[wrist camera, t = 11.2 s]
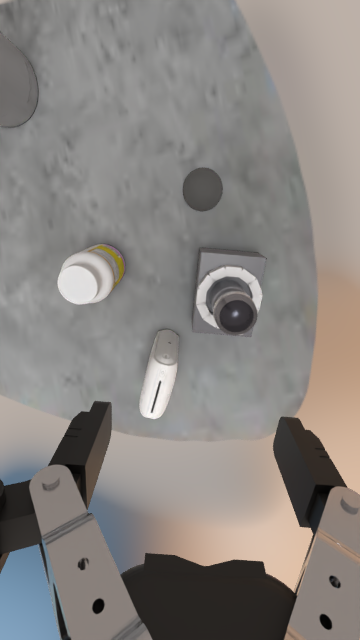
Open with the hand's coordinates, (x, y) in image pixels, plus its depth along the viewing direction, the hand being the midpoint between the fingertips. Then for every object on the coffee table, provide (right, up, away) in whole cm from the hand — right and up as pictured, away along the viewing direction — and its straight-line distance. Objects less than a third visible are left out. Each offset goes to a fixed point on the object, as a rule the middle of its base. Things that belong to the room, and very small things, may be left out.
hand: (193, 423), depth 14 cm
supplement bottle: (-12, +14, +32) cm, 37 cm away
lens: (+6, +8, +28) cm, 30 cm away
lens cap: (+3, +24, +28) cm, 37 cm away
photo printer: (-4, -1, +37) cm, 38 cm away
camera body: (+6, +10, +33) cm, 35 cm away
